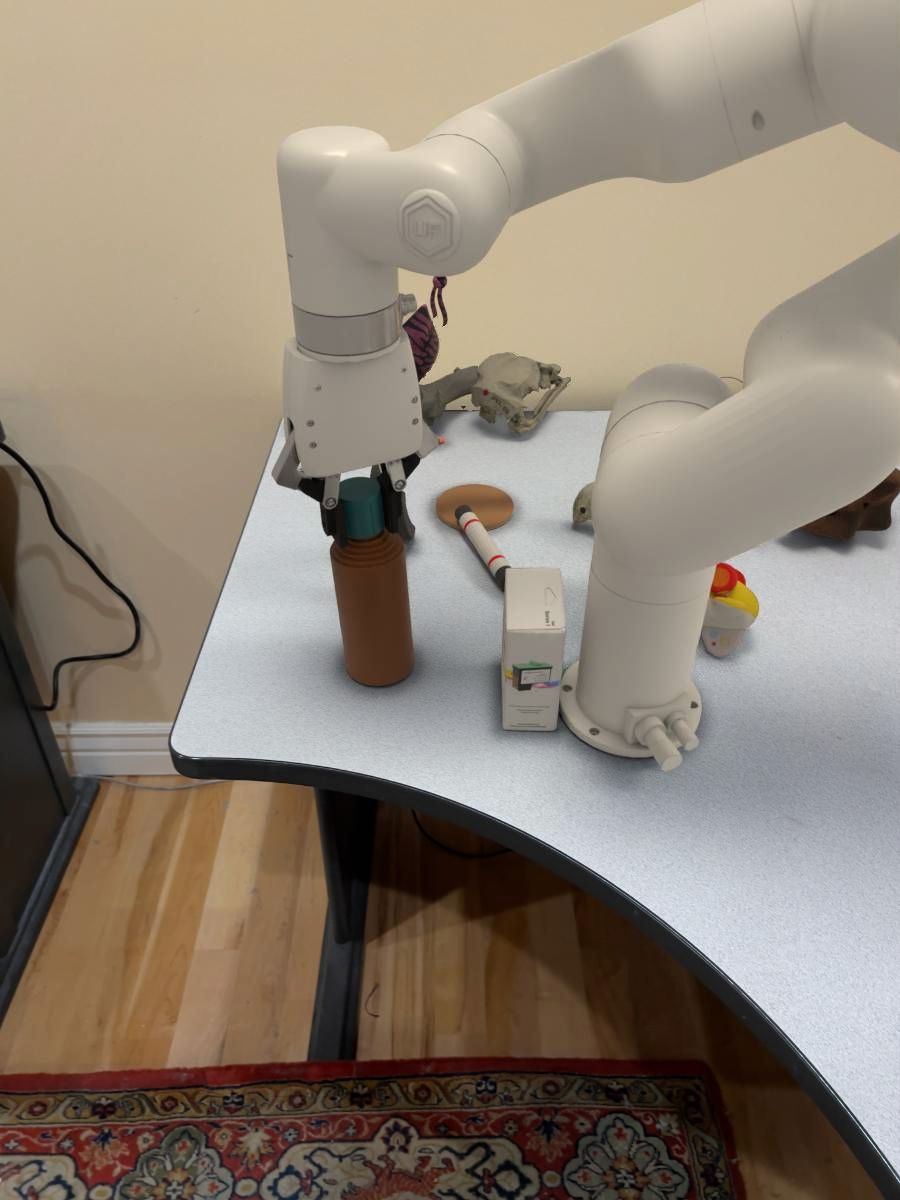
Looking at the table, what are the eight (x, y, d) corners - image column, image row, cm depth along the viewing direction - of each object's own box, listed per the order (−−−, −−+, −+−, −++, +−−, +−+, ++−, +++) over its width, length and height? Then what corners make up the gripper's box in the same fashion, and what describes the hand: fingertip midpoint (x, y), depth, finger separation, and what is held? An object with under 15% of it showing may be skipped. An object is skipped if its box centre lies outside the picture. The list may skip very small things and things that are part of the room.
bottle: (423, 675, 85) (409, 506, 75) (356, 693, 84) (332, 523, 73) (402, 634, 90) (387, 471, 79) (339, 651, 89) (314, 486, 78)
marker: (454, 521, 104) (454, 506, 103) (470, 516, 105) (470, 502, 103) (510, 606, 94) (510, 592, 92) (527, 601, 94) (528, 587, 93)
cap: (391, 517, 79) (387, 479, 77) (374, 542, 76) (369, 503, 74) (349, 511, 80) (344, 474, 78) (331, 535, 77) (325, 497, 75)
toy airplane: (746, 666, 93) (612, 609, 99) (782, 585, 92) (644, 533, 98) (722, 662, 81) (572, 597, 87) (763, 569, 80) (609, 510, 87)
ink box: (499, 663, 87) (504, 563, 80) (552, 664, 87) (561, 564, 80) (500, 731, 81) (505, 629, 73) (557, 732, 80) (568, 630, 73)
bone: (398, 380, 118) (395, 424, 122) (434, 398, 115) (430, 442, 118) (508, 345, 132) (502, 386, 136) (544, 360, 129) (537, 401, 132)
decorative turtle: (947, 467, 96) (898, 430, 102) (819, 488, 92) (775, 449, 98) (917, 543, 102) (872, 505, 108) (795, 566, 99) (756, 525, 105)
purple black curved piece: (469, 306, 109) (504, 323, 127) (425, 253, 110) (466, 277, 128) (326, 447, 117) (378, 444, 135) (285, 397, 118) (342, 401, 136)
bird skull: (578, 448, 117) (578, 373, 111) (467, 444, 120) (462, 372, 114) (595, 367, 136) (596, 300, 130) (498, 366, 139) (495, 300, 133)
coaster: (525, 522, 105) (525, 518, 105) (450, 538, 103) (450, 533, 102) (496, 482, 112) (496, 478, 111) (425, 496, 109) (425, 491, 109)
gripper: (431, 285, 72) (434, 486, 83) (218, 323, 66) (253, 533, 78) (475, 320, 66) (472, 530, 78) (248, 365, 61) (281, 584, 72)
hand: (363, 530), depth 78 cm, fingers closed on cap, 3 cm apart
